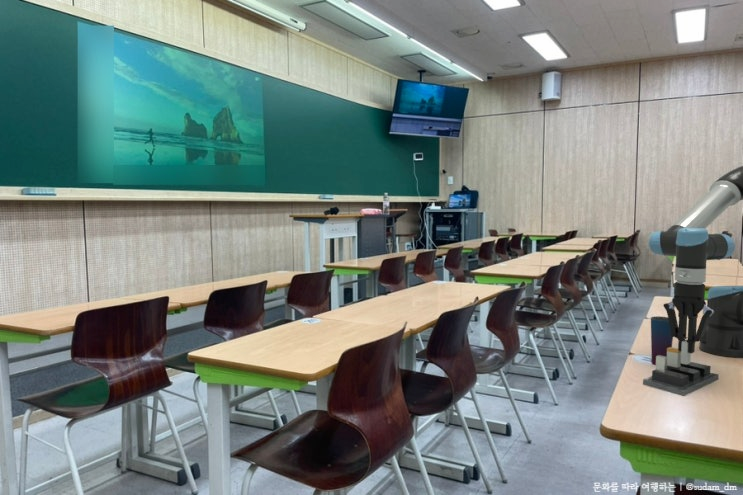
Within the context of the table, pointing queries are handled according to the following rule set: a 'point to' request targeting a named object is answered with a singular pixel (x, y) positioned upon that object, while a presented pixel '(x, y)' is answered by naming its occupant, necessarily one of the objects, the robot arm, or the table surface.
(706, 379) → the panel
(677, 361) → the handle
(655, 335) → the cup
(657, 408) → the table surface
